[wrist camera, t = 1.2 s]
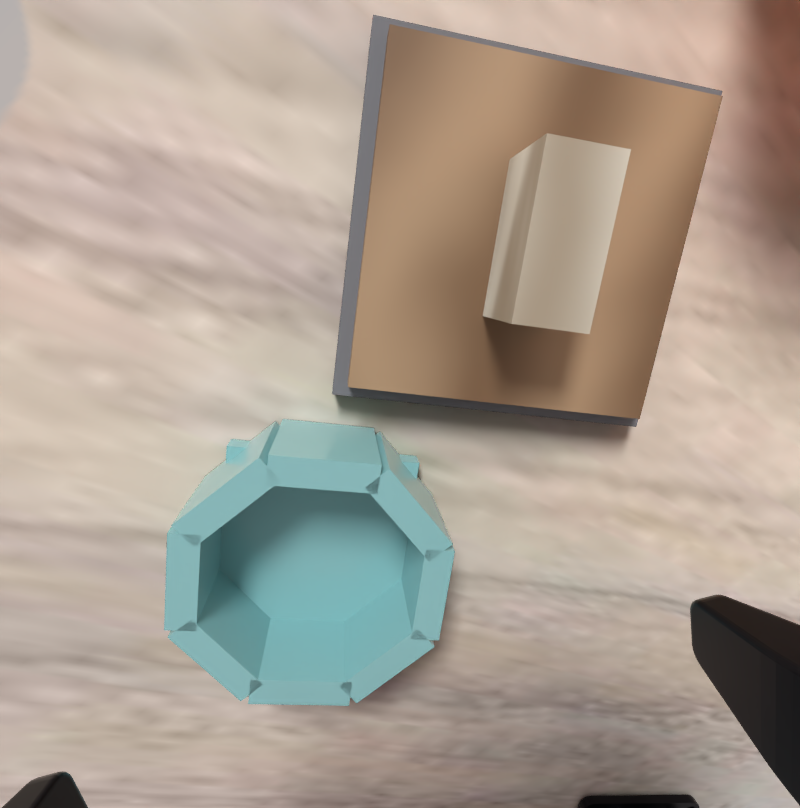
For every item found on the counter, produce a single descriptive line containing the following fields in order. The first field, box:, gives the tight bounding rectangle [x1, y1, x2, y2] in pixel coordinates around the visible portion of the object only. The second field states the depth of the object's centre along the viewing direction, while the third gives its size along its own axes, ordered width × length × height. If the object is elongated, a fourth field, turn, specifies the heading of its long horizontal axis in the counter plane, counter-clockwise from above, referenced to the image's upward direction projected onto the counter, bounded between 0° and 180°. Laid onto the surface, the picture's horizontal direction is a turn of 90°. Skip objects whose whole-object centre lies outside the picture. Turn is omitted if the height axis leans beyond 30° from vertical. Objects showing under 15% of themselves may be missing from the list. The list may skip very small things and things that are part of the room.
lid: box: [348, 24, 723, 419], centre depth 16 cm, size 11×11×4 cm
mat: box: [332, 15, 722, 427], centre depth 18 cm, size 12×12×1 cm
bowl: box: [164, 419, 455, 706], centre depth 18 cm, size 9×9×4 cm
